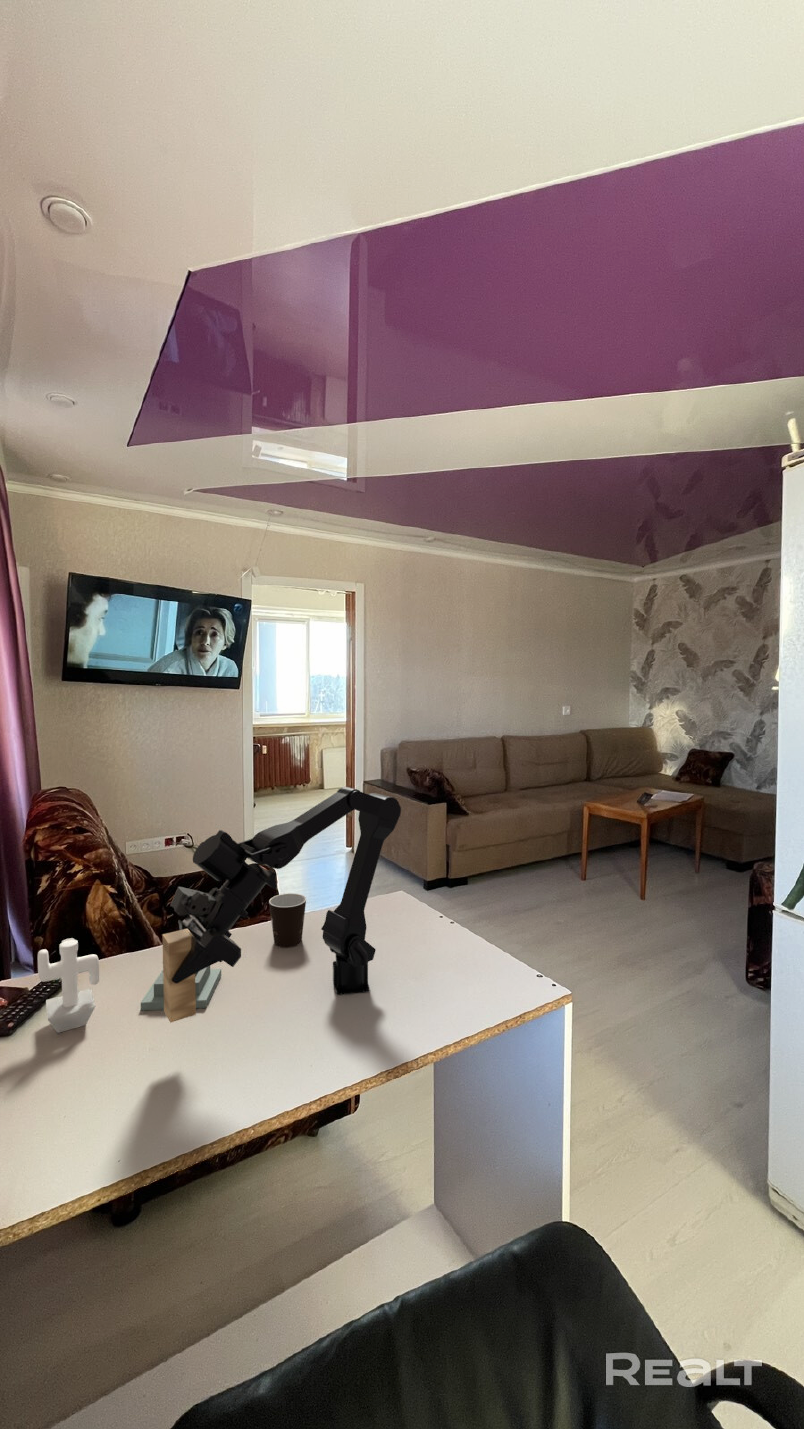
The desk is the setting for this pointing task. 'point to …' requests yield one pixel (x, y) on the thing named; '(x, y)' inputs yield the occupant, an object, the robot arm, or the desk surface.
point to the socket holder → (203, 990)
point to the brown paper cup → (287, 919)
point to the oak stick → (175, 995)
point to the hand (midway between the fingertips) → (170, 976)
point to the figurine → (69, 986)
